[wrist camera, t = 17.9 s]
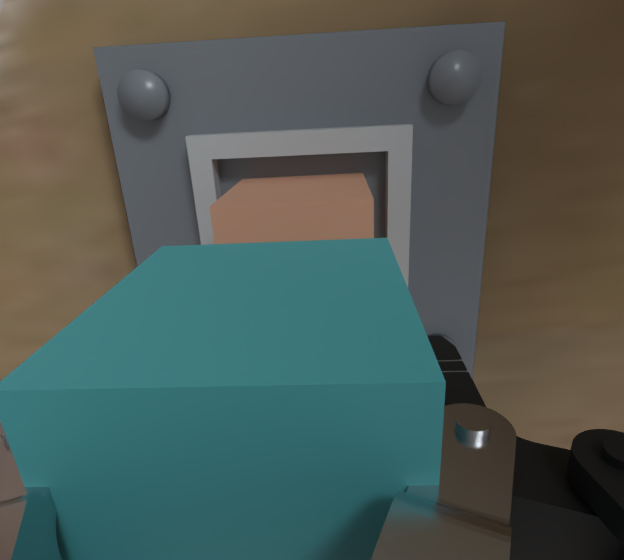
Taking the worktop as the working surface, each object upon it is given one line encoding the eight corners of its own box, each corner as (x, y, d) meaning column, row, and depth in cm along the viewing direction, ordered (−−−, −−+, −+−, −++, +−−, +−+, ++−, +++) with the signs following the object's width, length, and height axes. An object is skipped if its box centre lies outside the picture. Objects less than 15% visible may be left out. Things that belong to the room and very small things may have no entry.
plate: (109, 51, 20) (80, 44, 18) (493, 26, 19) (514, 16, 17) (171, 372, 27) (155, 398, 24) (464, 366, 26) (477, 393, 23)
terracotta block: (242, 178, 21) (209, 206, 15) (362, 172, 20) (373, 198, 15) (255, 288, 23) (229, 349, 17) (364, 285, 22) (374, 345, 17)
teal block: (161, 246, 11) (-10, 390, 6) (387, 237, 11) (445, 382, 5) (194, 428, 13) (92, 668, 8) (385, 425, 13) (426, 675, 7)
